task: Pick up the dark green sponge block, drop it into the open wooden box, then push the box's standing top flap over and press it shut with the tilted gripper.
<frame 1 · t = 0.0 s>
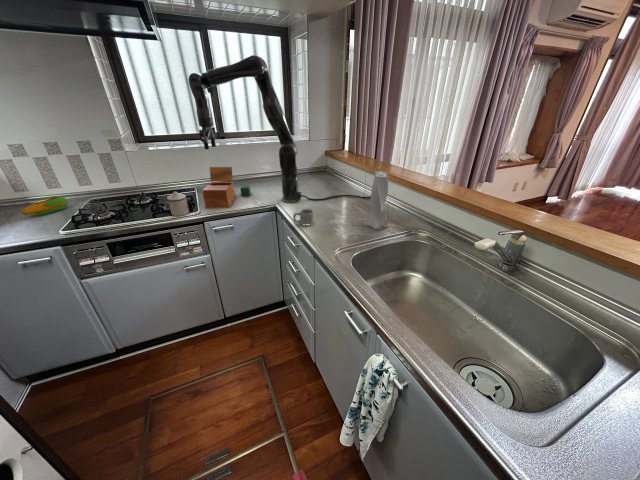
hand: (210, 147, 152), 29 cm above the worktop, tool pointing down, fingers open, 8 cm apart
mug: (303, 224, 133), on the worktop
wooden box: (221, 202, 158), on the worktop
skyscraper: (375, 226, 132), on the worktop
teacup with lid: (179, 212, 144), on the worktop
flap: (221, 174, 160), point 14 cm above the worktop, hinge at 110.0°
sponge: (246, 194, 170), on the worktop
corn: (49, 212, 142), on the worktop
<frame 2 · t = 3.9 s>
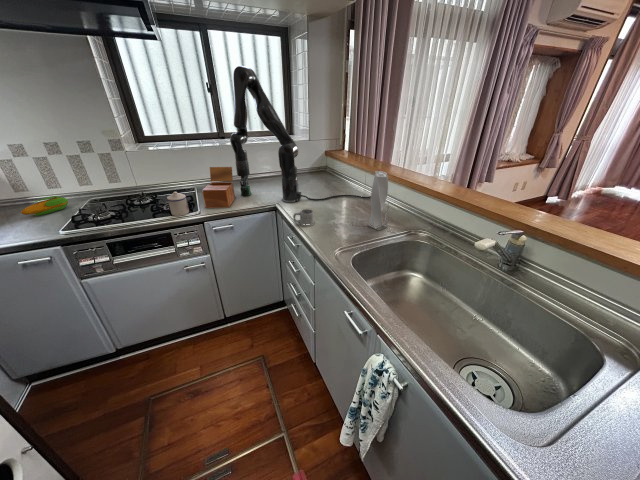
hand: (246, 193, 170), 0 cm above the worktop, tool pointing down, fingers closed on sponge, 5 cm apart
sponge: (246, 194, 170), on the worktop, touching gripper
everything else where it was.
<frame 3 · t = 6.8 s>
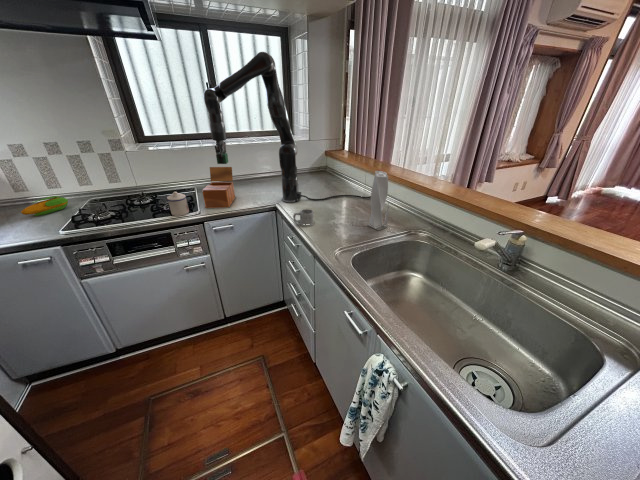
hand: (222, 162, 153), 22 cm above the worktop, tool pointing down, fingers closed on sponge, 5 cm apart
sponge: (223, 162, 153), point 21 cm above the worktop, touching gripper
everything else where it was.
when the fingers open (11 cm above the worktop, at t = 10.0 s): sponge drops 10 cm, resting on wooden box.
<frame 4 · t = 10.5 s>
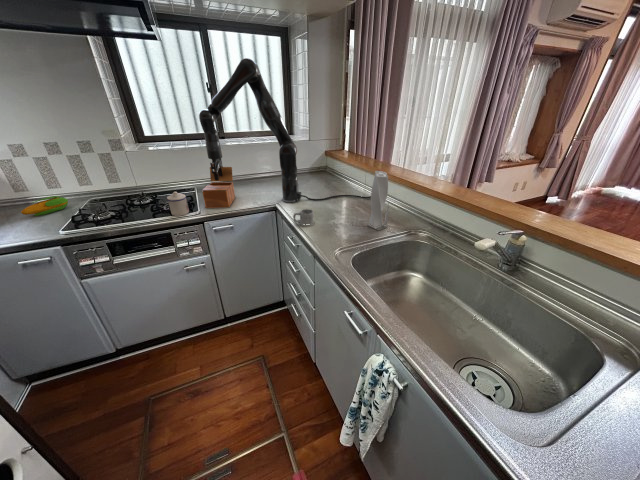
hand: (219, 178, 155), 13 cm above the worktop, tool pointing down, fingers open, 8 cm apart
flap: (221, 174, 160), point 14 cm above the worktop, hinge at 110.4°
sponge: (222, 199, 161), resting on wooden box
everything else where it was.
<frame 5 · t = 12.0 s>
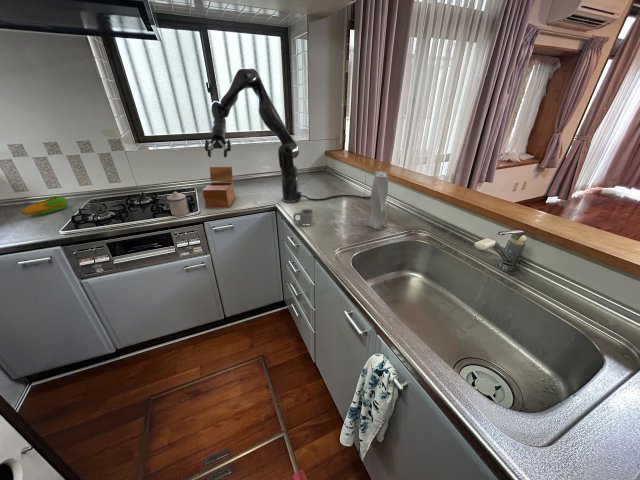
hand: (217, 156, 153), 25 cm above the worktop, tool tilted 45°, fingers open, 8 cm apart
nothing on the worktop moved.
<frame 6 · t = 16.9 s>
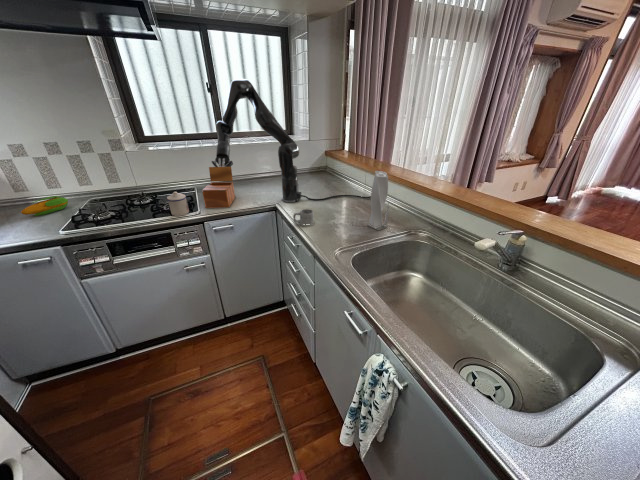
hand: (221, 175, 160), 13 cm above the worktop, tool tilted 45°, fingers closed
flap: (220, 174, 159), point 14 cm above the worktop, hinge at 100.2°, touching gripper
everything else where it was.
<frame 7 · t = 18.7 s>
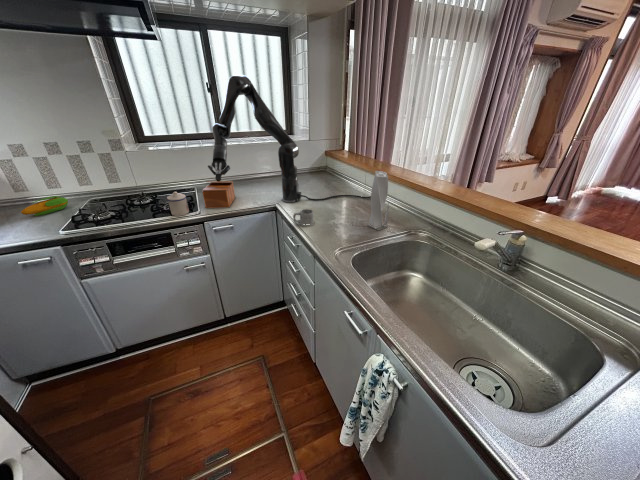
hand: (218, 180, 153), 12 cm above the worktop, tool tilted 45°, fingers closed
flap: (219, 181, 156), point 11 cm above the worktop, hinge at 14.7°, touching gripper
everything else where it was.
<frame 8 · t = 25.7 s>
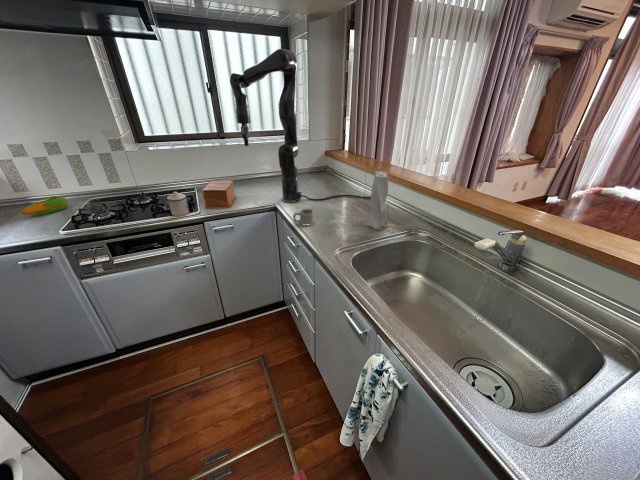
hand: (246, 145, 161), 29 cm above the worktop, tool pointing down, fingers closed
flap: (220, 183, 157), point 10 cm above the worktop, hinge at -0.7°
everything else where it was.
at the end: sponge inside the target area in the wooden box (4.0 cm from its centre), point 0.5 cm above the wooden box's base; flap at -1° (first picture: +110°) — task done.
